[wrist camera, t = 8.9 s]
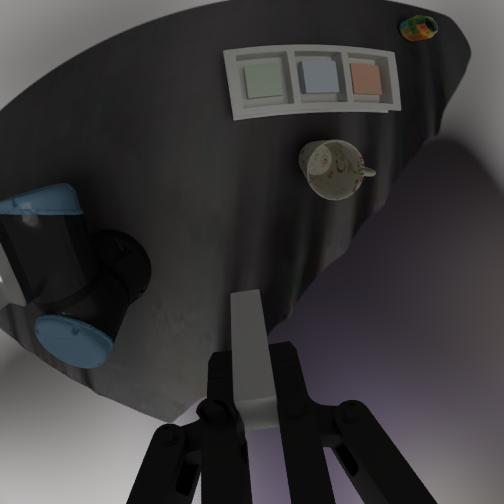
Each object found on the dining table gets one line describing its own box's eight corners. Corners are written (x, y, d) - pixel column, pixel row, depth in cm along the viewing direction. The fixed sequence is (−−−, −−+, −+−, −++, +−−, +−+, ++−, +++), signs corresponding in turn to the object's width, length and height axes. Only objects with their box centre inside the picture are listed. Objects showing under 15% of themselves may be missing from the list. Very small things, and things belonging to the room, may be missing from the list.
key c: (348, 94, 36) (354, 93, 34) (344, 65, 34) (350, 63, 31) (375, 95, 36) (382, 94, 34) (371, 67, 34) (378, 65, 31)
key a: (247, 99, 36) (248, 98, 34) (243, 69, 34) (243, 66, 31) (280, 96, 36) (283, 94, 34) (276, 65, 34) (279, 63, 31)
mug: (292, 132, 40) (309, 137, 32) (362, 140, 41) (393, 148, 33) (289, 181, 44) (304, 199, 35) (357, 185, 45) (384, 203, 36)
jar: (418, 43, 32) (444, 38, 25) (400, 41, 32) (425, 34, 25) (411, 22, 30) (436, 15, 23) (393, 20, 30) (417, 11, 23)
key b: (302, 94, 35) (306, 92, 33) (297, 63, 33) (301, 60, 30) (333, 93, 35) (339, 92, 33) (329, 63, 33) (335, 61, 30)
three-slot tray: (233, 120, 39) (234, 120, 34) (223, 56, 34) (222, 47, 29) (383, 112, 39) (401, 113, 34) (376, 54, 34) (393, 49, 29)
